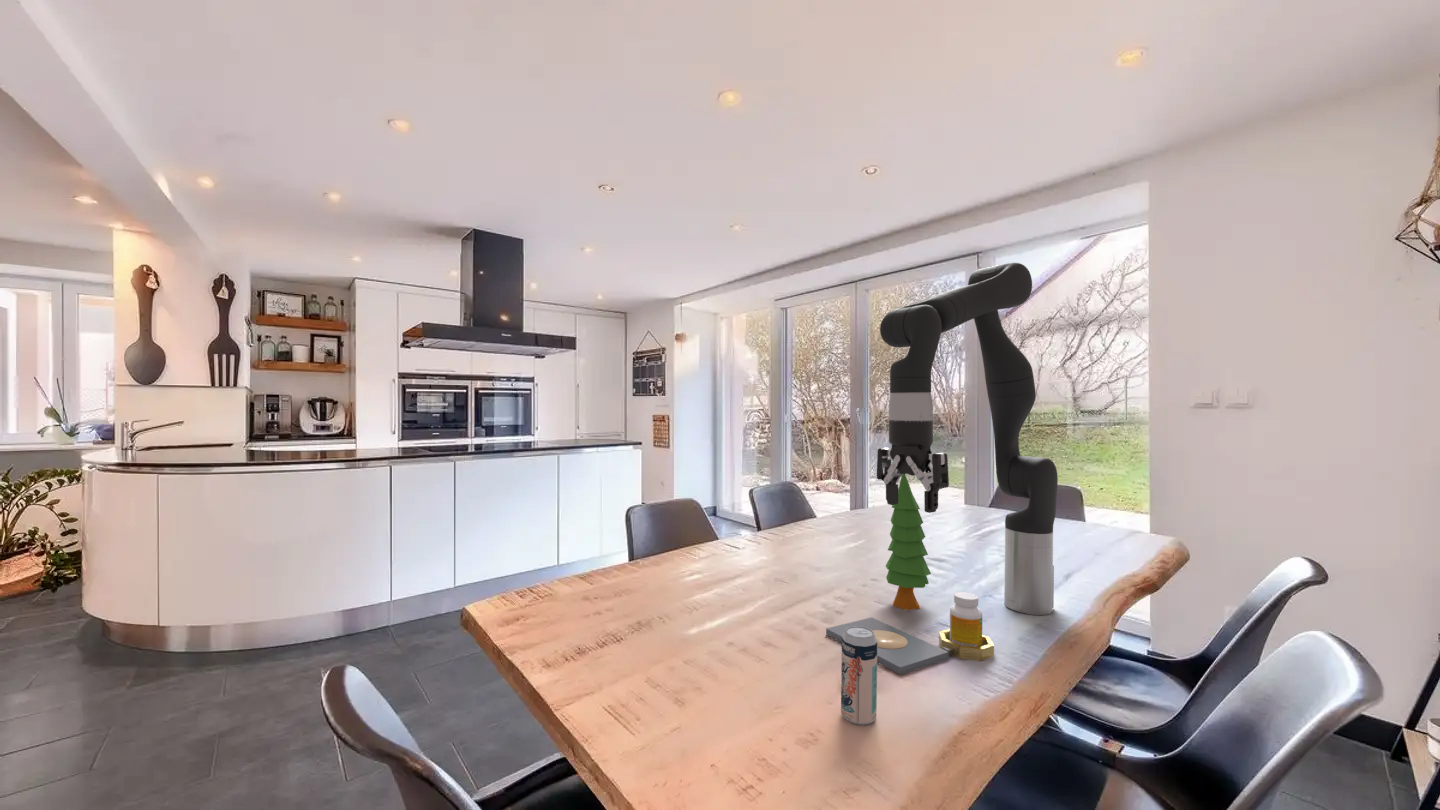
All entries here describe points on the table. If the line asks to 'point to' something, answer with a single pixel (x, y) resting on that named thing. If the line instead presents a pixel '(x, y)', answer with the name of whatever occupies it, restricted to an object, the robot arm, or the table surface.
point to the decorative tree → (907, 549)
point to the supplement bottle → (966, 620)
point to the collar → (966, 648)
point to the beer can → (859, 675)
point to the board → (895, 646)
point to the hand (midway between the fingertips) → (910, 508)
